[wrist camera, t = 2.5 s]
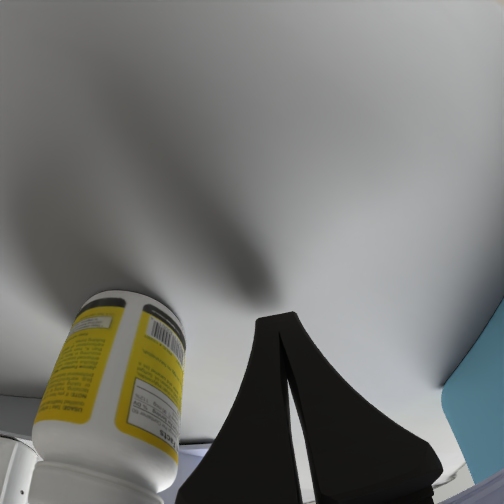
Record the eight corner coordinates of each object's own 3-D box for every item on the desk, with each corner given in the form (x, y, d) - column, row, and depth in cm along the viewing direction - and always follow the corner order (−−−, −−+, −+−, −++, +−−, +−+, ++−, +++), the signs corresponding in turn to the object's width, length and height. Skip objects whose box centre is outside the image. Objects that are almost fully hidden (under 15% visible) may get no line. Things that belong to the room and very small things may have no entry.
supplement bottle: (78, 347, 13) (29, 510, 6) (84, 270, 11) (-9, 477, 4) (173, 376, 14) (161, 546, 7) (202, 308, 12) (193, 536, 5)
